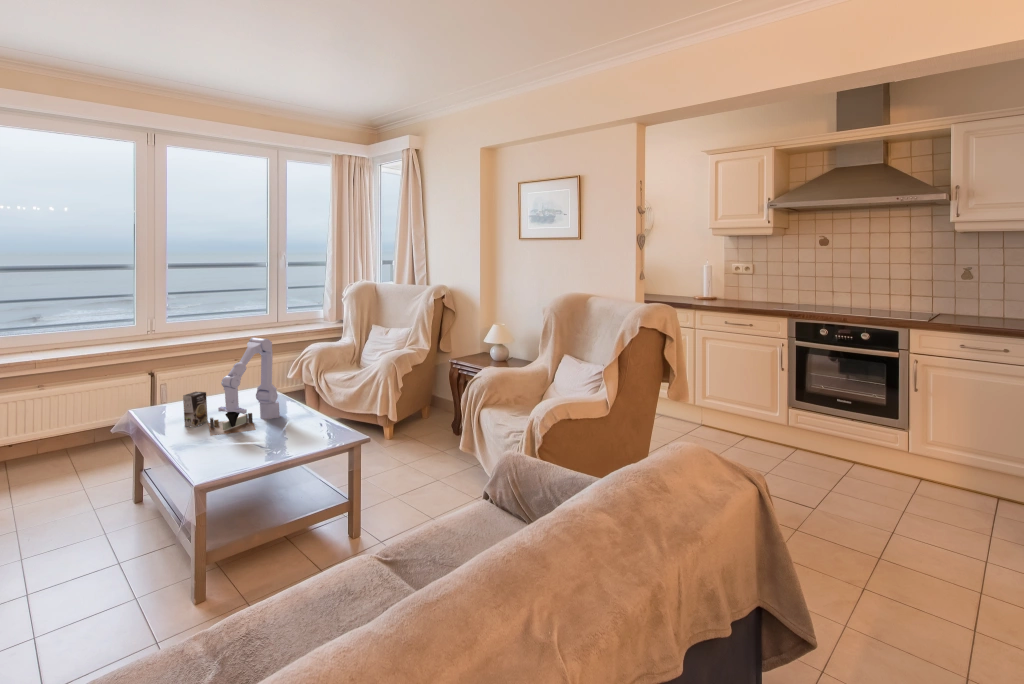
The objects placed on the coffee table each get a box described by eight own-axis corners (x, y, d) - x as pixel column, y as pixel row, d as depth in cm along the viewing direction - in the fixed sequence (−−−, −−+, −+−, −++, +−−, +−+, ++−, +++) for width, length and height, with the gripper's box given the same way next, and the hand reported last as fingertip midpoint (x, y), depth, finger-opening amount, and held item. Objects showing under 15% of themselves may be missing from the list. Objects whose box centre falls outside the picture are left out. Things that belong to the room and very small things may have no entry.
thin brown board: (250, 419, 295) (250, 409, 294) (256, 431, 277) (255, 420, 276) (208, 424, 285) (207, 413, 284) (210, 437, 266) (209, 426, 265)
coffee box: (195, 427, 280) (193, 396, 277) (184, 426, 281) (182, 395, 278) (208, 422, 289) (206, 391, 286) (197, 421, 290) (195, 390, 287)
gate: (246, 421, 288) (245, 413, 287) (248, 421, 287) (248, 414, 286) (222, 430, 273) (222, 422, 273) (225, 430, 273) (224, 422, 272)
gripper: (213, 400, 271) (214, 427, 274) (239, 403, 268) (240, 430, 270) (223, 397, 278) (225, 423, 280) (248, 399, 275) (250, 425, 277)
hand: (233, 426), depth 276 cm, fingers closed
